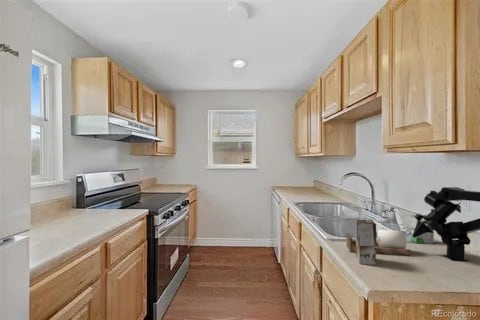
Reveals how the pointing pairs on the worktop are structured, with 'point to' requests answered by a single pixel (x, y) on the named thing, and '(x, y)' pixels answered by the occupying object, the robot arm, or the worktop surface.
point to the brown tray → (377, 248)
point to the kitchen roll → (391, 239)
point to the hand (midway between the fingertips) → (413, 236)
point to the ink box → (424, 238)
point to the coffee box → (366, 242)
